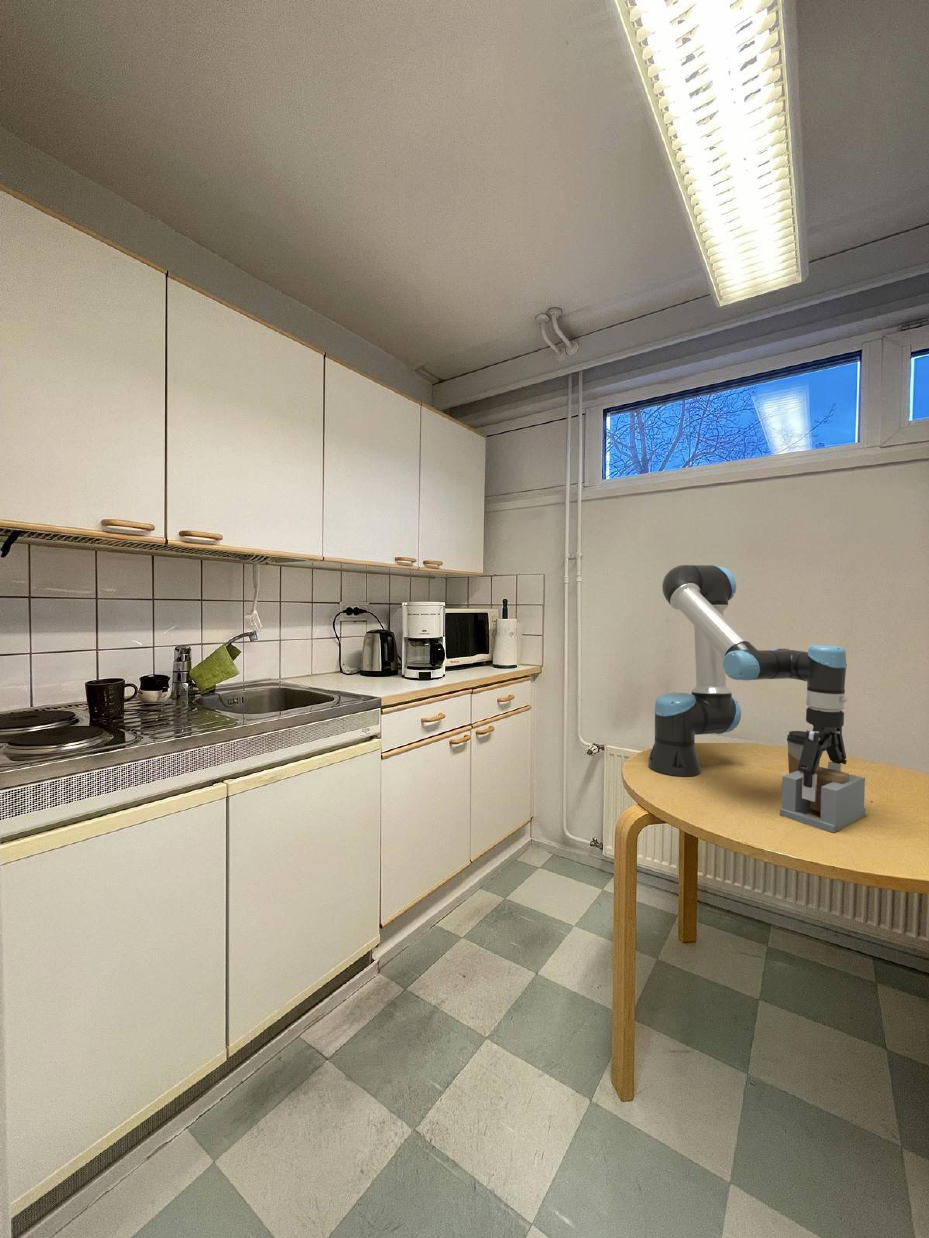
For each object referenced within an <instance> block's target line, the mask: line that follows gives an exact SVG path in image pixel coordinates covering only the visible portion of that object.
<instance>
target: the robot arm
mask: <svg viewBox="0 0 929 1238" xmlns="http://www.w3.org/2000/svg"><path fill="white" fill-rule="evenodd" d="M661 585H662V586H661V587H662V588H661V589H662V594H663V596H664V599H665V600H666V601H667V602H668V604H669V605H670V606H671V607H672V609H673V608H674V610H679V611H680V612H681V613H682V614H683V615H684V616H685V617H686V618H687V619H688V620H689V622H690V623H691V624H692V625H693V626H694V627H693V628H694V632H693V633H694V654H695V657H694V658H695V660H694V661H695V687H693V688H692V690H690V691H691V693H688V692H671V693H669V692H668V693H665V694H661V695H659V696H658V697H657V698H656V700H655V705H654V743H653V746H652V749H651V751H650V755H649V756H648V764H647V765H648V767H649V769H650V770H652V771H655V772H657V773H660V774H663V775H668V776H673V777H674V776H676V777H692V776H694V777H695V776H697V775H699V774H700V773H701V763H700V761H699V760H700V759H699V757H698V753H697V749H696V747H695V745H696V744H695V741H696V737H695V736H697V735H711V734H714V735H715V734H716V735H720V734H724V733H730V732H732V731H734V730H735V729H736V728H737V727H738V726H739V724H740V721H741V718H742V709H741V705H740V704H739V702H738V700H737V699H736V698H734V697H732V695H733V694H732V691H731V690H730V689H729V688H728V687H727V684H726V683H727V681H726V679H727V678H726V675H727V676H728V678H730V679H732V680H736V681H737V680H738V681H748V682H749V681H755V680H757V681H758V680H783V679H785V680H786V679H790V680H798V681H803V682H806V686H807V687H806V698H805V699H806V700H805V702H806V706H807V708H806V710H805V712H806V713H805V720H806V723H807V724H809V725H812V726H813V728H812V731H811V730H806V731H805V732H806V735H805V742H804V746H803V750H802V754H801V758H800V762H799V766H798V771H801V772H803V780H802V798H803V799H807V800H810V801H813V802H815V801H816V787H817V774H815V771H816V769H817V766H818V763H819V761H821V757H822V755H823V753H824V752H826V753H827V755H828V758H829V761H827V768H828V769H832V770H836V771H840V772H843V771H842V766H843V765H847V762H848V761H847V755H846V749H845V744H844V739H843V727H844V724H845V723H844V721H845V712H844V711H843V710H844V709H845V702H847V700H848V699H847V698H846V697H845V695H846V694H845V691H846V689H845V685H846V674H847V666H848V664H847V655H846V654H847V651H846V649H845V648H844V647H842V646H838V645H829V644H828V645H827V644H826V645H823V644H812V645H810V646H809V647H808V649H807V650H808V651H804V650H803V651H801V650H795V649H789V648H772V649H769V650H768V649H767V650H765V649H764V650H760V649H757V648H756V646H754V645H753V644H752V643H751V642H750V641H749V640H748V639H747V638H745V636H744V635H742V633H741V632H740V631H739V630H738V629H737V628H736V627H735V626H734V625H733V624H732V623H731V622H730V621H728V619H727V618H726V617H725V616H724V611H725V610H727V608H728V607H729V601H730V600H732V599H733V597H735V596H734V595H735V594H736V592H737V582H736V578H735V575H733V572H731V571H730V570H729V569H728V568H726V567H725V566H718V565H714V564H712V565H707V564H706V565H704V564H703V565H698V564H696V565H695V564H694V565H693V564H692V565H691V564H682V565H677V566H675V567H673V568H672V569H670V570H669V571H668V572H667V573H666V574H665V576H664V578H663V581H662V584H661ZM819 764H820V763H819ZM842 764H843V765H842ZM807 767H808V768H807Z"/></svg>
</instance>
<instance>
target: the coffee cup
mask: <svg viewBox="0 0 929 1238" xmlns="http://www.w3.org/2000/svg"><path fill="white" fill-rule="evenodd" d="M805 735H806V731H804V730H803V731H802V730H791V731H788V734H787V736H786V737H787V738H786V741H787V758H788V759H787V761H788V762H787V763H788V774H790V773H792V772H795V771H798V766H799V762H800V758H801V754H802V750H803V746H804V742H805ZM820 761H821V760H820ZM820 761H819V763H818V766H819V767H820Z"/></svg>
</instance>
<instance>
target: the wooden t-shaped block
mask: <svg viewBox="0 0 929 1238" xmlns="http://www.w3.org/2000/svg"><path fill="white" fill-rule="evenodd" d="M807 768H808V767H807ZM800 773H801V774H803V772H801V771H800ZM815 774H817V787H816V801H815V802H813V801H810V808H811V809H814V810H815V811H818V812H821V787H822V786H824V785H827V784H829V783H831V782H836V783H840V784H843V783H846V782H848V781H849V775H850V773H849V772H848V773H847V772H844V771H841V772H840V771H836V770H832V769H828V767H822V766H820V765H819V766H817V769H816V771H815ZM814 810H813V811H814Z"/></svg>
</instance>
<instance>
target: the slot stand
mask: <svg viewBox="0 0 929 1238" xmlns="http://www.w3.org/2000/svg"><path fill="white" fill-rule="evenodd" d="M781 780H782V781H781V808H780V809H779V816H781V817H784V818H786V819H791V820H792V821H797V822H799V823H802V824H805V825H809V826H811V827H814V828H817V829H820V830H824V831H826V832H829V833H832V834H834V833H836V832H838V831H840V830H842V829H844V828H845V827H847V826H849V825H851V824H853V823H854V822H856V821H858V820H860V819H861V818H863V817H865V816H867V815H866V814H867V813H866V812H867V810H866V808H865V791H866V777H863V776H858V775H855V774H850V773H849V781H848V782H846V783H843V784H840V783H836V782H831V783H829V784H827V785H824V786H822V787H821V811H820V818H818V817H815V816H812V815H808V814H807V813H810V812H812V811H814V809H811V808H810V800H807V799H803V798H802V780H803V774H801V773H800V771H795V772H792V773H790V774H789V773H787V774H784V775H782V777H781Z"/></svg>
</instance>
